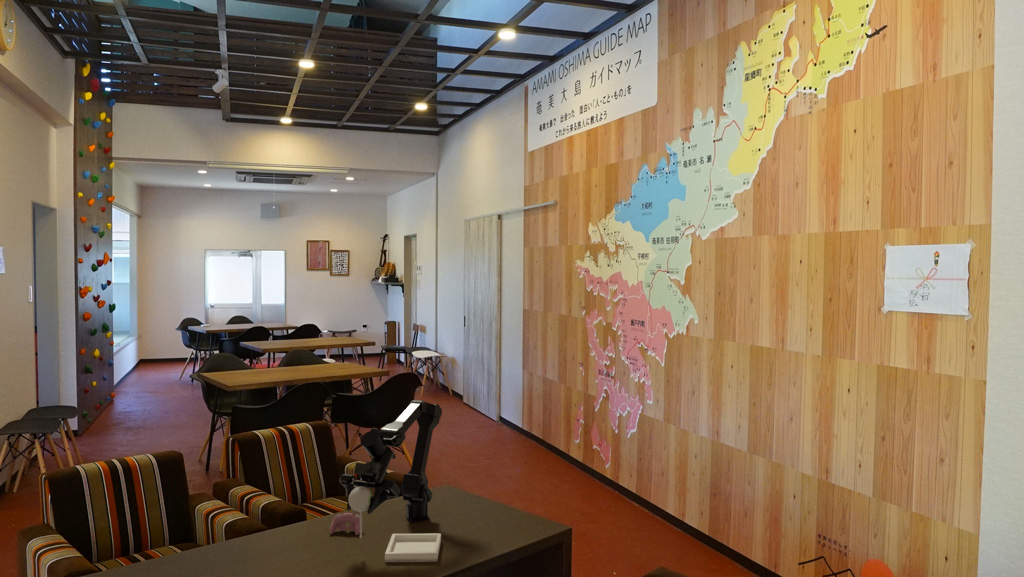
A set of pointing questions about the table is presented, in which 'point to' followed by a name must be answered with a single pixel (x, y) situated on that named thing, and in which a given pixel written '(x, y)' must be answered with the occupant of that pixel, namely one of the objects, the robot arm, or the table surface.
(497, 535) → the table surface
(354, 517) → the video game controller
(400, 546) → the tray
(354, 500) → the lollipop
